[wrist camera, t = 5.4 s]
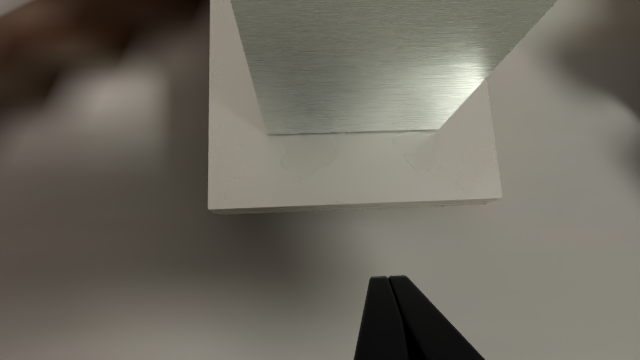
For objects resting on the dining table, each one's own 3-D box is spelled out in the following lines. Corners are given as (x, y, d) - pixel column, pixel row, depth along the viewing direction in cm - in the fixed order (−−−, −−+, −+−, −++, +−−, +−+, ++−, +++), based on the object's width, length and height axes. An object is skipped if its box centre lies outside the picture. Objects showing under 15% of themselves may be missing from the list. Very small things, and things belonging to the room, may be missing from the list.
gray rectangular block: (468, 209, 17) (502, 198, 14) (224, 219, 17) (207, 209, 14) (443, -5, 19) (468, -54, 16) (225, -1, 19) (210, -52, 16)
